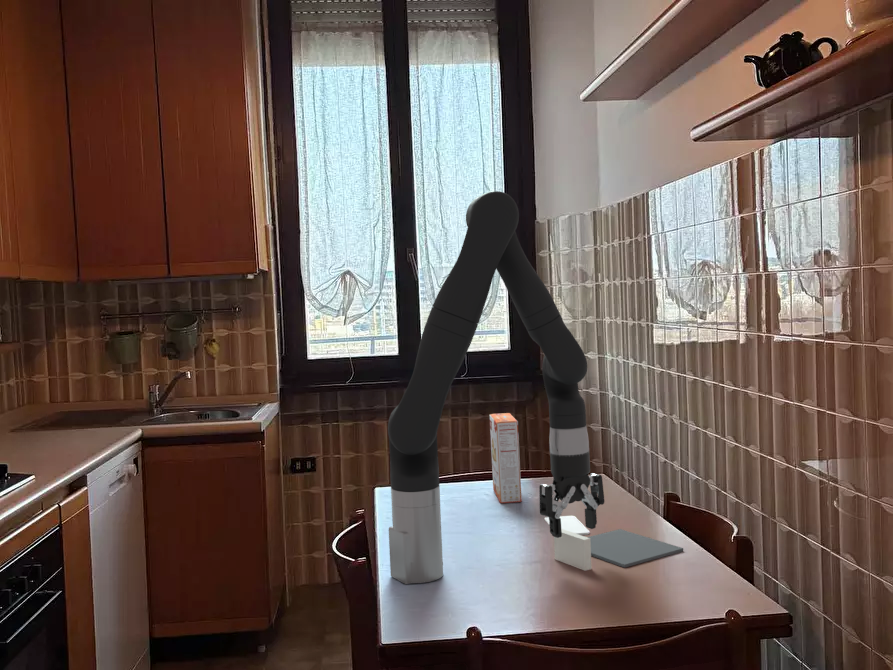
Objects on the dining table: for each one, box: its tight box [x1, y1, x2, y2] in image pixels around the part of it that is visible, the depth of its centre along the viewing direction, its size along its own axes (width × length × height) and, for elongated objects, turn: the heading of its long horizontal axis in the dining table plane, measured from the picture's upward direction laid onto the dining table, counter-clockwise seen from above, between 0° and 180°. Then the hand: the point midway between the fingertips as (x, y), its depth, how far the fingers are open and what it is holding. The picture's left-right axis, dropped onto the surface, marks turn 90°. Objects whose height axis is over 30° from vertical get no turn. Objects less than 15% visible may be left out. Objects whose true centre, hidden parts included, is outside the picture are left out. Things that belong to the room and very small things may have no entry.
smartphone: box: [544, 515, 591, 536], centre depth 193 cm, size 7×1×15 cm
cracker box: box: [489, 412, 523, 504], centre depth 222 cm, size 14×6×21 cm, turn 4°
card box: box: [553, 529, 592, 572], centre depth 167 cm, size 2×9×6 cm, turn 32°
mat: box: [587, 528, 684, 569], centre depth 175 cm, size 16×18×1 cm
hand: (574, 532), depth 167 cm, fingers open, 8 cm apart
